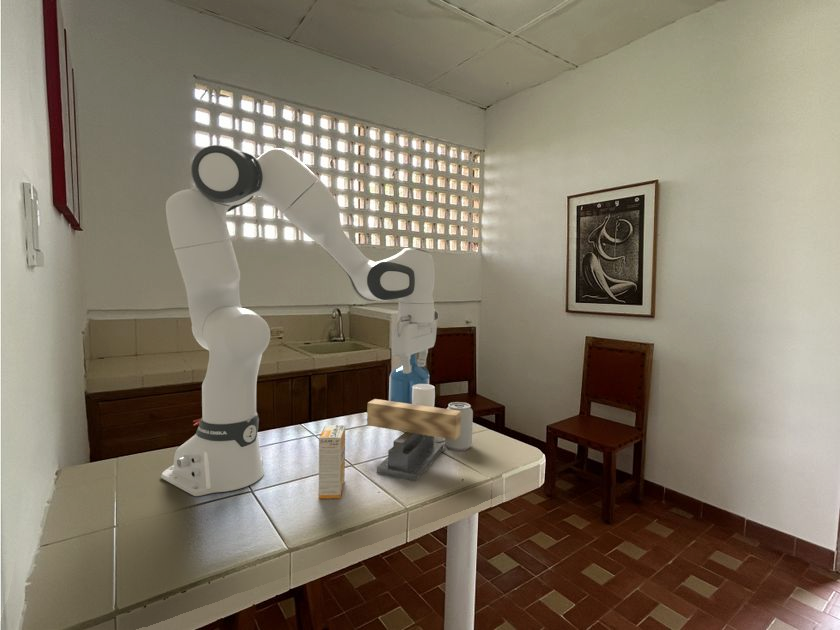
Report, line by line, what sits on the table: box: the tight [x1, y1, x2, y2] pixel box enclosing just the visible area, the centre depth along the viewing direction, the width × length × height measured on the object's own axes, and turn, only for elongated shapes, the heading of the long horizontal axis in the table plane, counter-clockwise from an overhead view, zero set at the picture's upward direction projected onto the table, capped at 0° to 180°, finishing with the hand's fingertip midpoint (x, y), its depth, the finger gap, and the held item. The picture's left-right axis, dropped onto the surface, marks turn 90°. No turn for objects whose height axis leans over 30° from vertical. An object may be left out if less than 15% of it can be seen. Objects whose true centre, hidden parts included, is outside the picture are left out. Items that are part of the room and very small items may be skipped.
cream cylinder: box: [412, 383, 436, 407], centre depth 122 cm, size 7×7×15 cm
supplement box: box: [317, 424, 346, 500], centre depth 89 cm, size 8×5×13 cm, turn 4°
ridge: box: [376, 432, 445, 482], centre depth 105 cm, size 10×20×8 cm, turn 158°
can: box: [444, 401, 474, 452], centre depth 115 cm, size 8×8×12 cm
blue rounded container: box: [388, 353, 430, 404], centre depth 137 cm, size 14×13×30 cm
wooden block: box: [366, 398, 461, 440], centre depth 105 cm, size 24×4×6 cm, turn 68°
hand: (414, 369), depth 104 cm, fingers open, 8 cm apart
